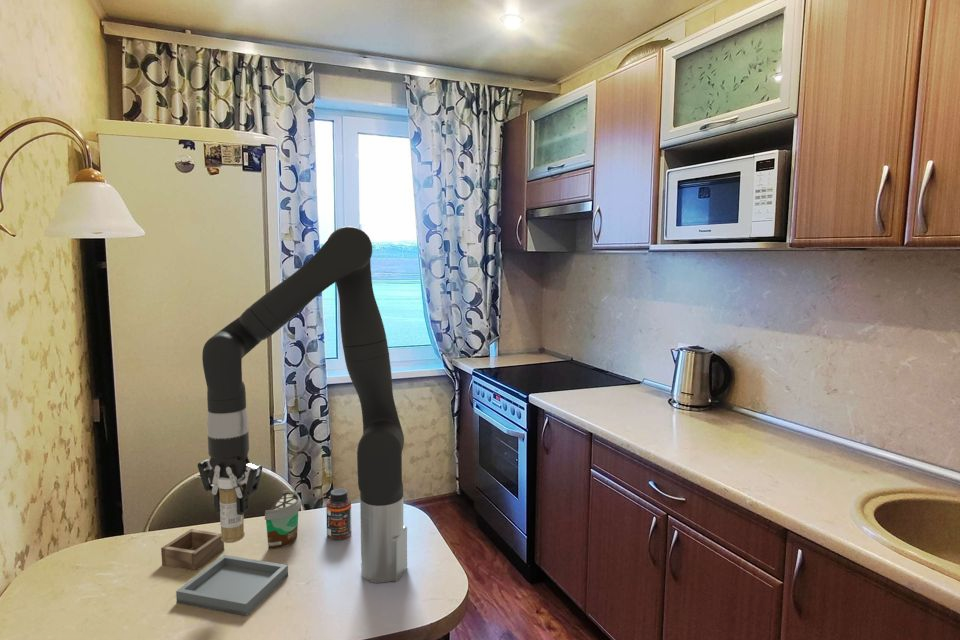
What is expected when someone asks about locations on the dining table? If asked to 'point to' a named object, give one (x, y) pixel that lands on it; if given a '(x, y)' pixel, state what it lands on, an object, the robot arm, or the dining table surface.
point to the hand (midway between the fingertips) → (231, 511)
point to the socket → (185, 558)
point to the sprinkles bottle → (229, 512)
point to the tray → (232, 585)
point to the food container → (283, 520)
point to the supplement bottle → (338, 515)
